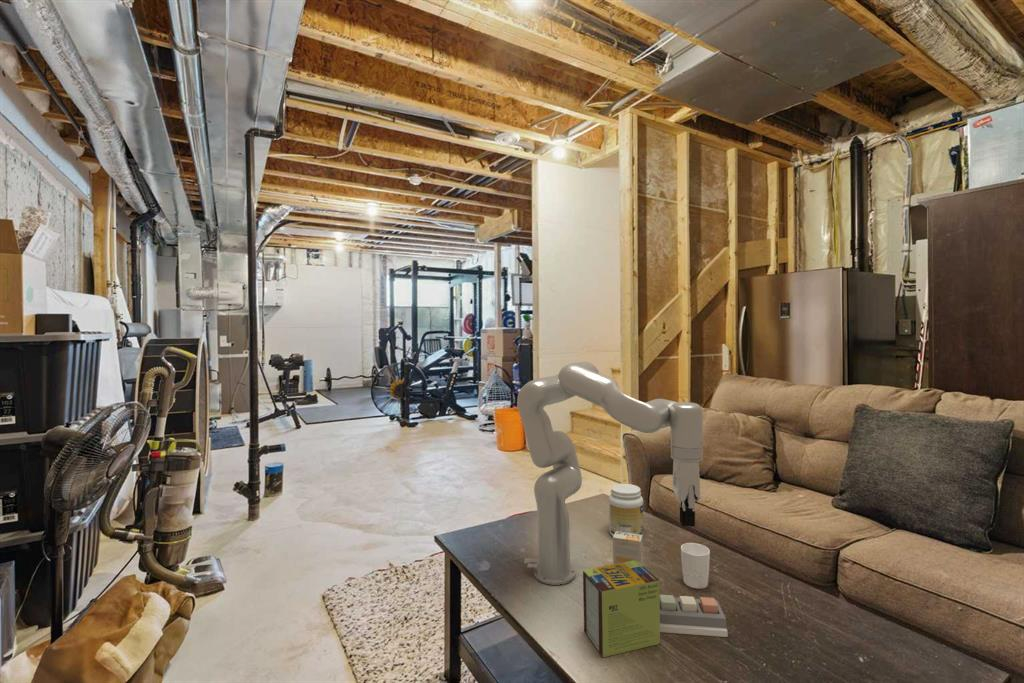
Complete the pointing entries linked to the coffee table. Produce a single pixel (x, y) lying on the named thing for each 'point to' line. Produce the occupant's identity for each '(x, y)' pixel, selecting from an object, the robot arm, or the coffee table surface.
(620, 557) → the supplement box
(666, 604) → the key
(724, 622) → the keypad
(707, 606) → the key
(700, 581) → the white cup
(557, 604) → the coffee table surface
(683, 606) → the key
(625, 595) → the protein box
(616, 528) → the supplement tub
